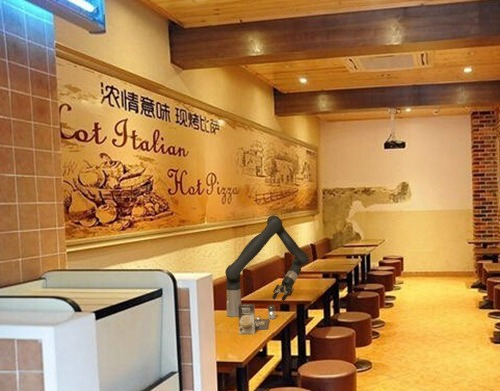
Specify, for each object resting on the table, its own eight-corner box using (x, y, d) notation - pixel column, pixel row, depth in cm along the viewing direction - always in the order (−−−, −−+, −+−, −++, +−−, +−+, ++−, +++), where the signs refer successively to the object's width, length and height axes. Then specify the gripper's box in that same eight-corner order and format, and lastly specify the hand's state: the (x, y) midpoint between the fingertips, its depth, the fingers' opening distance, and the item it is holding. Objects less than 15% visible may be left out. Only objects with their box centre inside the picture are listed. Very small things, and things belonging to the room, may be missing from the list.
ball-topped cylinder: (268, 319, 366) (267, 306, 366) (268, 318, 371) (267, 305, 371) (275, 319, 366) (274, 306, 366) (275, 317, 370) (274, 305, 371)
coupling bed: (245, 330, 340) (245, 324, 340) (248, 320, 364) (248, 315, 364) (267, 329, 340) (267, 323, 340) (269, 320, 363) (269, 315, 363)
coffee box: (238, 334, 331) (237, 306, 331) (240, 331, 337) (238, 304, 337) (254, 334, 330) (253, 305, 330) (255, 331, 336) (254, 303, 336)
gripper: (279, 274, 383) (267, 294, 376) (294, 276, 373) (282, 297, 365) (285, 281, 387) (273, 301, 379) (300, 283, 376) (289, 304, 369)
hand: (278, 299), depth 372 cm, fingers open, 8 cm apart
